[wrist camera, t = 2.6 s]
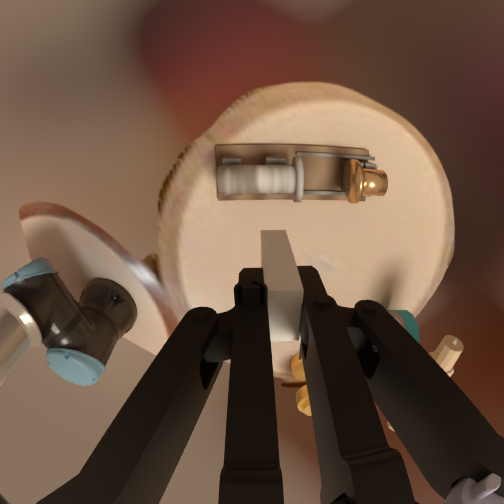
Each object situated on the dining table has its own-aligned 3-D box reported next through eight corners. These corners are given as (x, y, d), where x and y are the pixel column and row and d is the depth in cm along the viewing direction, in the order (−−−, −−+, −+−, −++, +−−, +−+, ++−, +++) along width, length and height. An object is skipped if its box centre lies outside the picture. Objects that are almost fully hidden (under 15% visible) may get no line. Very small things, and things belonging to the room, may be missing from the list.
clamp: (288, 372, 71) (295, 419, 57) (293, 349, 67) (302, 399, 53) (354, 368, 72) (369, 411, 58) (363, 346, 68) (382, 390, 54)
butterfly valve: (376, 352, 69) (413, 437, 42) (355, 353, 69) (388, 444, 42) (410, 270, 58) (482, 353, 31) (388, 268, 58) (458, 359, 31)
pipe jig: (218, 198, 51) (211, 218, 40) (216, 145, 46) (207, 150, 36) (367, 199, 51) (393, 218, 40) (370, 150, 47) (400, 157, 36)
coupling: (337, 193, 49) (357, 208, 40) (339, 155, 46) (360, 162, 37) (365, 194, 49) (389, 209, 40) (368, 157, 46) (393, 165, 37)
